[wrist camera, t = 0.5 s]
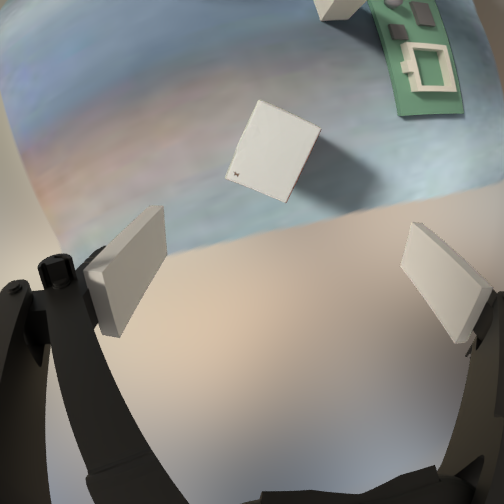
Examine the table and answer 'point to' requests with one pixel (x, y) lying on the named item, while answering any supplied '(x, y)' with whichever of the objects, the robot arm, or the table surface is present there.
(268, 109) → the small box
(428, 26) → the board
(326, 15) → the plug
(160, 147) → the table surface
